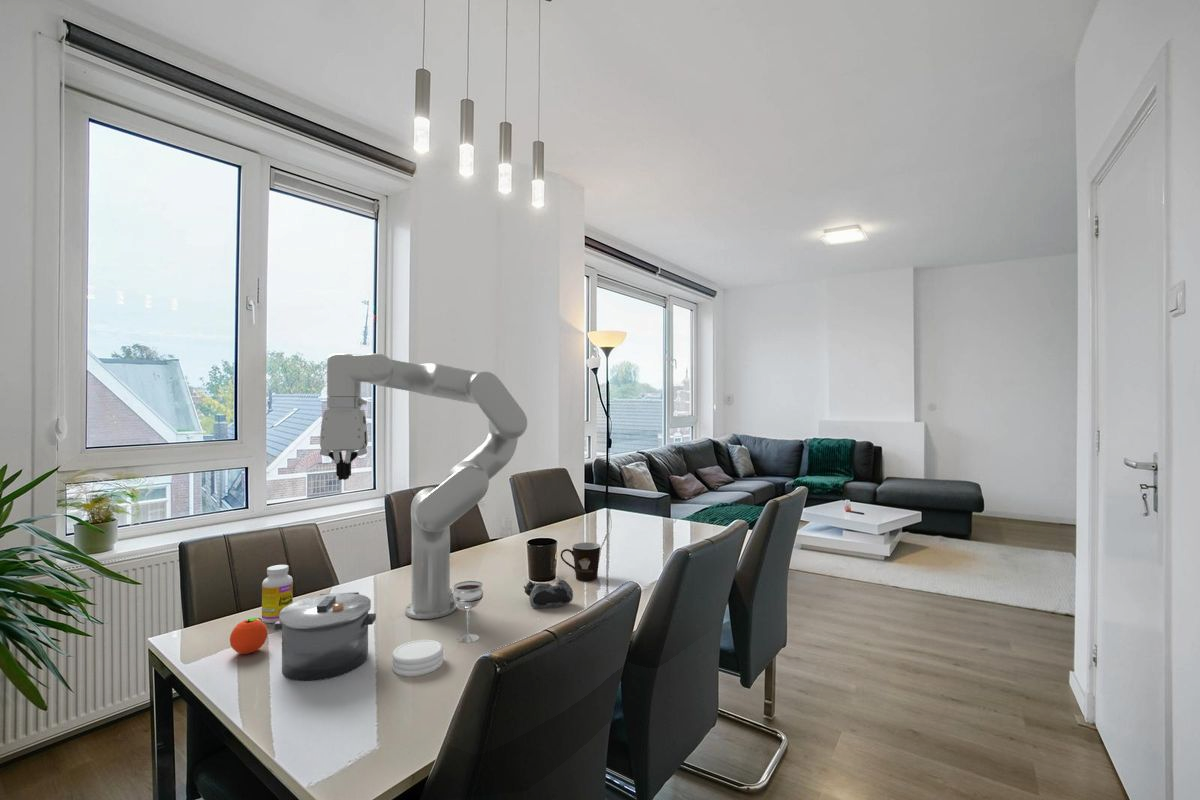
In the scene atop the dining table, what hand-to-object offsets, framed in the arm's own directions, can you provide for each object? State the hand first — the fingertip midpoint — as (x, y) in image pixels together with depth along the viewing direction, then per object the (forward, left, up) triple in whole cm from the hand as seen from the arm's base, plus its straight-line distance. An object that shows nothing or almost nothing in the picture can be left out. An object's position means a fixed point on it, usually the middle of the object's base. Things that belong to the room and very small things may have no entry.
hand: (343, 479), depth 138 cm
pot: (-3, +22, -35) cm, 42 cm away
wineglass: (-31, +14, -35) cm, 49 cm away
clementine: (+15, +14, -35) cm, 41 cm away
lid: (-3, +22, -25) cm, 33 cm away
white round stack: (-22, +26, -36) cm, 49 cm away
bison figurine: (-50, -6, -35) cm, 62 cm away
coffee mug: (-62, -27, -35) cm, 76 cm away
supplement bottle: (+17, -5, -35) cm, 40 cm away
